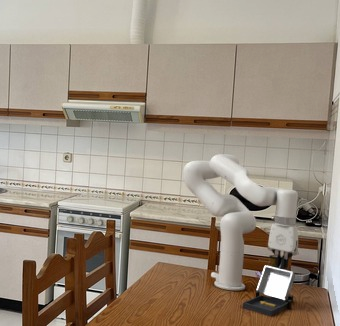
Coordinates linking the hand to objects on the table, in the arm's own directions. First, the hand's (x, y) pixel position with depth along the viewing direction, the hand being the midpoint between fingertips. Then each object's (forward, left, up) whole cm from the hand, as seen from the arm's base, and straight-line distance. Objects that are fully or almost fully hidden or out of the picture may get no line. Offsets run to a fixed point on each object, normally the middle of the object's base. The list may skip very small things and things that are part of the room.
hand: (281, 267), depth 192 cm
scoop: (0, -1, -4) cm, 4 cm away
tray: (0, -12, -13) cm, 18 cm away
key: (0, -9, -13) cm, 15 cm away
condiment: (-12, +24, -14) cm, 30 cm away
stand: (0, 0, -13) cm, 13 cm away
